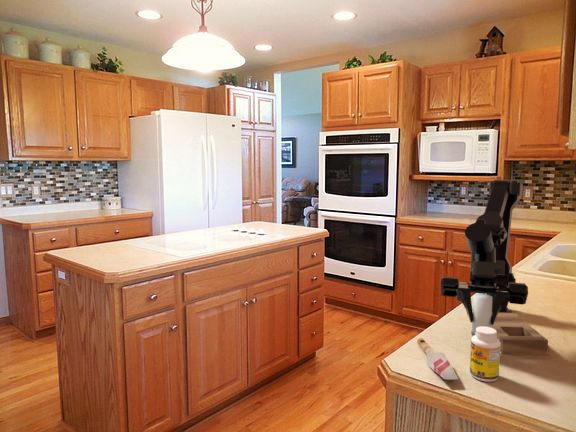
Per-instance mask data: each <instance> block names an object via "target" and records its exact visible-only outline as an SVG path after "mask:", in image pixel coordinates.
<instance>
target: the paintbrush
mask: <svg viewBox="0 0 576 432" xmlns="http://www.w3.org/2000/svg"><path fill="white" fill-rule="evenodd" d="M416 344H417V345H418V346H419V347H420V349H421V350H422V351H423V353H424V354H426V356H427V357H426V358H427V361H426V365H427V367H429V368H430V369H432V370H433V372H435V373H436V374H437V375H439V377H441V378H442V379H443V380H459V377H458V376H457V374H456V372H455V370H454V368H453V367H452V365H451V363H450V361H449V359H448V358H447V356H446V354H445V352H435V351H434V349H432V347H431V346H430V345H429V344H428V343H427V342H426V341H425V339H424V338H423V337H422V338H421V337H419V338H418V339H417V340H416Z"/></svg>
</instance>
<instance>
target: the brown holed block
mask: <svg viewBox="0 0 576 432" xmlns="http://www.w3.org/2000/svg"><path fill="white" fill-rule="evenodd" d="M491 328H493V329H495V330H496V331H497V339H498V340H499V341H500V343H501V345H500V354H503V355H532V356H533V355H534V356H536V355H539V356H540V355H541V356H547V355H548V348H549V339H547V338H546V337H545V336H543V334H541V333H540V332H539V331H537V330H536V329H535V328H534V327H532V326H531V325H530V324H529V323H527V322H526V321H525V320H524V319H523V318H522V317H520V316H519V315H518V314H516V313H515V312H512V313H498V315H497V317H496V320H495V322H494V324H493V325H491Z"/></svg>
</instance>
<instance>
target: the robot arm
mask: <svg viewBox="0 0 576 432" xmlns="http://www.w3.org/2000/svg"><path fill="white" fill-rule="evenodd" d="M523 191H524V184H523V183H522V182H520V181H519V180H518V179H494V180H492V181H489V186H488V195H489V196H488V200H487V203H486V207H485V210H484V212H483V214H481V215H479V216H478V217H477V218H476V221H475V222H473V223H471V224H469V225H468V226H467V227H466V228H465V230H464V235H465V238H466V243H467V247H468V250H469V251H470V267H469V270H470V271H469V282H466V281H465V282H464V281H459V277H455V276H446V275H445V276H444V275H443V276H442V277H441V279H440V294H441V296H442V297H445V298H448V297H449V298H456V300H457V301H458V302H461V303H462V305H463V307H464V309H465V311H466V313H467V317H468V319H469V322H470V323H471V324H472V322H473V302H472V295H471V294H472V293H473V294H487V295H490V296H492V297H493V299H492V318H491V325H493V324H494V322H495V320H496V317H497V315H498V313H513V311H512V310H511V309H510V308H509V307H508V306H509V304H514V305H526V303H527V300H528V295H529V287H528V285H527V284H526V282H525V283H523V282H516V281H517V280H516V278H515V275H514V273H513V266H512V265H511V263H510V261H509V259H508V257H509V256H508V254H509V246H510V245H509V243H510V236H511V228H512V227H511V226H512V217H513V210H514V209H515V208H516V207H517V206H518V204H519V203H520V199H521V197H522V196H523V193H524V192H523Z"/></svg>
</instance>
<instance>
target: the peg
mask: <svg viewBox="0 0 576 432" xmlns="http://www.w3.org/2000/svg"><path fill="white" fill-rule="evenodd" d="M472 297H473V298H472V299H473V300H472V312H473V322H472V323H471V324H472V325H471V332H470V333H471V338H472V337H473V336H474V335H476V334H475V333H476V328H477V327H480V326H485V327H490V328H491V318H492V299H493V297H492V296H490V295H487V294H481V293H473V296H472Z"/></svg>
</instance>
